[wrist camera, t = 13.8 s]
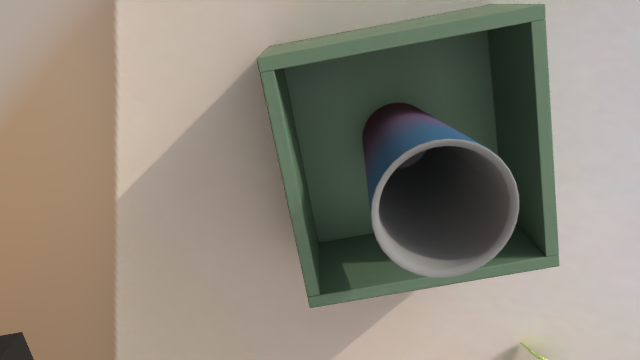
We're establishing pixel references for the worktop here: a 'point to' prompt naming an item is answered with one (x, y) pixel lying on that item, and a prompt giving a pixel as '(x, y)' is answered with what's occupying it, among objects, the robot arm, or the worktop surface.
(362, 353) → the worktop surface
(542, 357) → the figurine
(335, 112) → the bin
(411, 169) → the cup
